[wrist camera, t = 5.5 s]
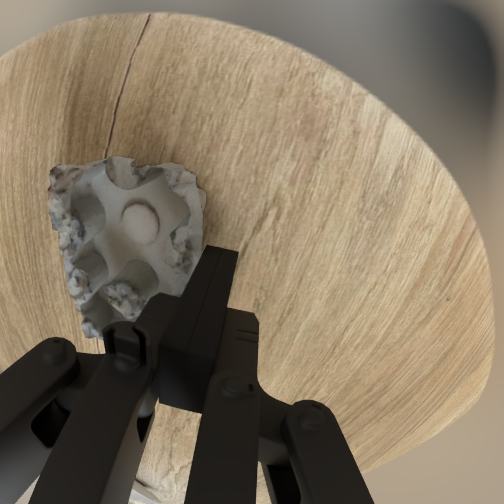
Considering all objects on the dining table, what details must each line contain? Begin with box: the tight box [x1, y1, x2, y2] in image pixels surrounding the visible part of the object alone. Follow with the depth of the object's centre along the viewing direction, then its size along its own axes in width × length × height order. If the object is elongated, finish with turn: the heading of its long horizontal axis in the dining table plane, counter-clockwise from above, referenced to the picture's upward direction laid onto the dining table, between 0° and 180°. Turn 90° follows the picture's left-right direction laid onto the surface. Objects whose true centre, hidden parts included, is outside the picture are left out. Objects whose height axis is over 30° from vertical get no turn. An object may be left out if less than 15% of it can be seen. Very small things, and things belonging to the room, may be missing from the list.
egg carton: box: [48, 156, 206, 348], centre depth 13 cm, size 11×8×4 cm
